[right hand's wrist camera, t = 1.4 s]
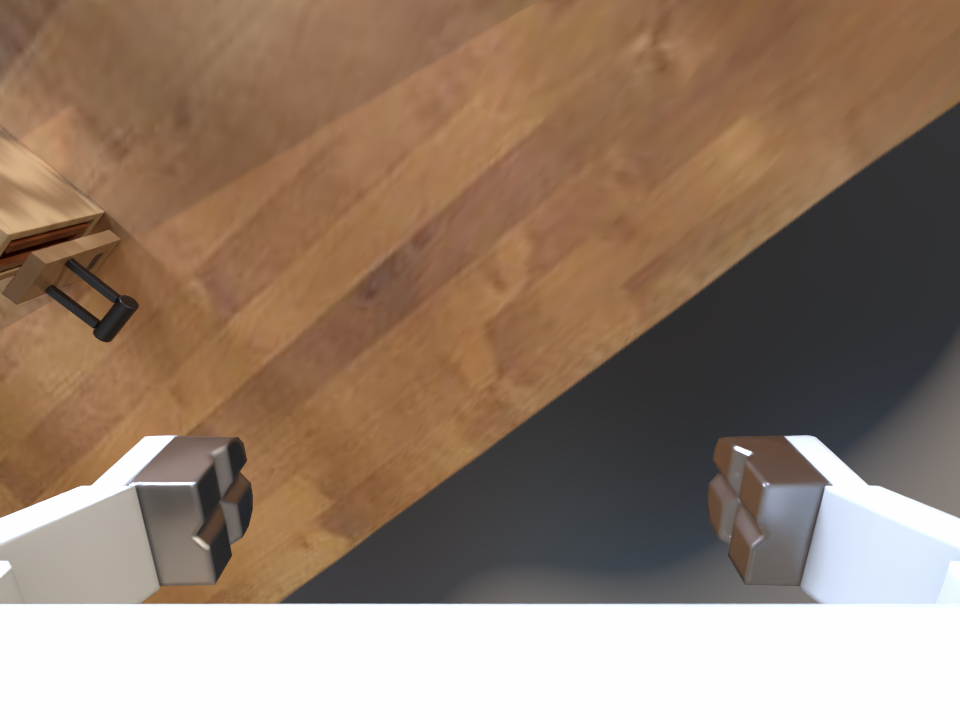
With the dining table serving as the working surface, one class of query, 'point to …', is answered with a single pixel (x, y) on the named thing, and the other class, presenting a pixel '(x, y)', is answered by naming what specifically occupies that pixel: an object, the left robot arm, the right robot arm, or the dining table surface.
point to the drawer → (66, 273)
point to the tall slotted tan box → (36, 197)
